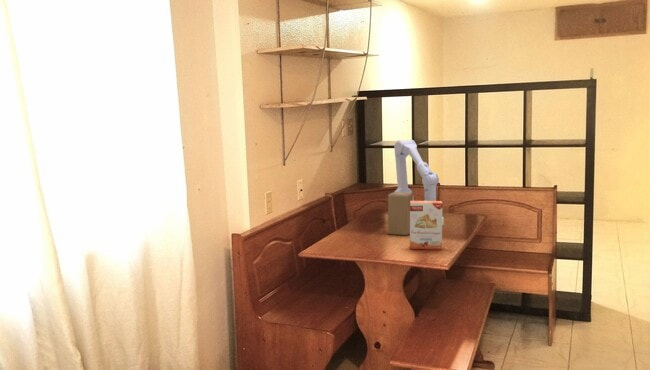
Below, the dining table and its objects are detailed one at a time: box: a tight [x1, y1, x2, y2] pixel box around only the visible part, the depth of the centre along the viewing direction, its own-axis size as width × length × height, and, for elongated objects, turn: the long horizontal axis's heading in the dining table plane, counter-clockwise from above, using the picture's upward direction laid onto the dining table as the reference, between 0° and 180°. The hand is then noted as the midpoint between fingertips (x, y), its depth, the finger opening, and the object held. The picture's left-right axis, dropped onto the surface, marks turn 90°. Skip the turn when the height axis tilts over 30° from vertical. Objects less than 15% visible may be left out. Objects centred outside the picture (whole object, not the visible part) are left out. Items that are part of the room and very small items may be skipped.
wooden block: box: [387, 191, 414, 237], centre depth 290 cm, size 10×10×20 cm
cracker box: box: [409, 200, 443, 251], centre depth 259 cm, size 14×6×21 cm, turn 82°
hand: (430, 224), depth 298 cm, fingers closed
